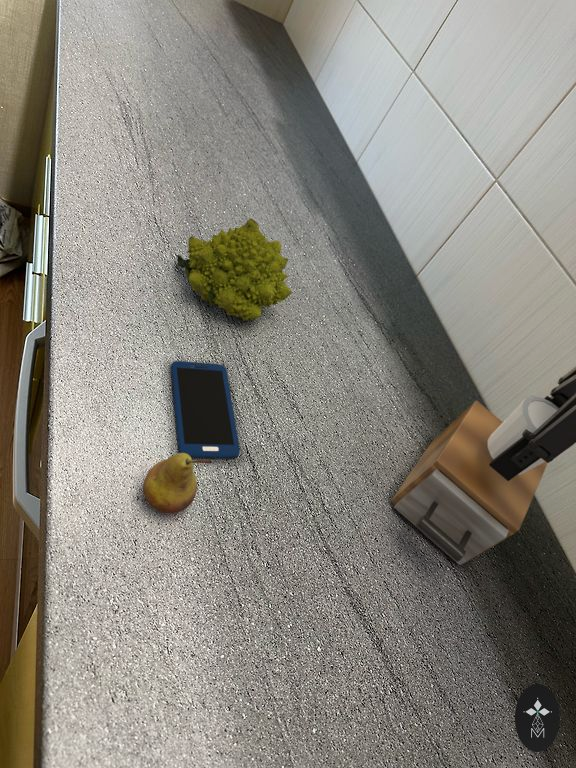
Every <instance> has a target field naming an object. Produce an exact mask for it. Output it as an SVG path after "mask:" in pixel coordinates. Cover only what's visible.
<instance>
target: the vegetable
mask: <svg viewBox="0 0 576 768" xmlns="http://www.w3.org/2000/svg"><path fill="white" fill-rule="evenodd" d="M187 245H188V246H187V247H188V248H187V249H188V250H187V253H188V256H187V259H185V258H183V257H182V256H181V254H176V257H177V259H176V260H177V261H176V262H177V264H176V265H177V266H178V267H180V268H181V269H184V271H185V275H186V277H188V279H187V280H188V283H189V285H190V286H191V290H192V291H195V292H197V293H198V294H199V295H200V298H201V301H205V302H207V303H208V304H209V306H210V307H212V306H214V305H218V308H219V309H221V308H222V309H223V311H226V315H227V316H234V317H236V318H241V319H242V321H243V322H245V321H248V322H250V321H253V320H254V321H255V320H256V319H258V318H259V317H261V316H262V314H261V313H262V311H263V307H264V308H270V307H271V306H272V305H273V306H276V305H277V304H278V302H279V303H282V301H286V299H287V298H288V297H289V296H290V295H291V294H292V293H293V291H292V290H291V289H290V288H289V286H287V284H286V281H284V280H286V279H287V278H288V277H289V275H288V274H286V273H285V272H284V271H283V270H284V269H286V266H287V264H288V262H289V258H286V257H284V256H282V255H281V254H282V253H281V250H282V243H281V242H280V241H279V240H272V241H269V240H268V237H266V235H264V234H263V232H261V231H260V228H259V223H258V222H256V220H254V219H253V218H252V217H250V218H249V219H248V220H247V221H246V222H245V223H244V224H243V225H241V226H240V227H234V229H233V228H229V229H228V231H227V232H225V231H224V230H223V228H221V229H220V231H219V233H218V234H217V235H216V234H212V236H211V239H209V240H208V241H206V240H201V239H199V238H196V237H195V236H193V235H191V236H189V237H188V243H187Z"/></svg>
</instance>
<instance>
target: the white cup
mask: <svg viewBox="0 0 576 768" xmlns="http://www.w3.org/2000/svg"><path fill="white" fill-rule="evenodd" d="M544 398H545V397H541V396H535V395H532V396H529V397H526V398H525V399H523V401H522V402H521V403H520V404H519V405H518V406H517V407H516V408H515V409H514V410H513V411H512V412H511V413H510V414H509V415H508V416H507V417H506V418H505V420H503V421H502V422H503V423H502V424H501V425H500V426H499V427H498V428H497V429H496V430H495V431H494V432H493V433H492V434H491V436H490V437H489V439H488V450H489V452H490V455H491V457H492V458H493V459H495V458H496V457H497V456H498V455H500V454H501V453H502V452H504V451H505V450H506V449H507V448H509V447H510V446H511V445H513V444H514V443H515V442H517V441H518V440H519V439H520V438H522V437H523V436H522V433H523V432H524V431H525V430H526V429H527V430H528V431H530V432H531V433H533V432H535V431H536V430H537V429H538V428H539V427H540V426H541V425H542V424H543V423H544V422H545V421H546V420H548V419H549V418H550V417H551V416H552V415H553V414H554V413H555V412H556V411H557V410H558V409H559V408H558V407H557V406H556V405H554V404H553V403H552V402H550V401H548V400H546V399H544ZM574 445H575V444H573V445H572V446H571V447H569V448H568V449H567V450H569V449H571V448H572V447H574ZM543 462H545V461H544V460H543V459H542V458H540V459H539V460H538V461H536V462H535V463H533V464H532V465H531V466H529V467H528V468H526V469H525V470H523V471H522V472H521V473H519V474H518V475H521V474H523V473H525V472H527V471H529V470H531V469H532V468H534V467H536V466H538V465H540V464H542V463H543Z"/></svg>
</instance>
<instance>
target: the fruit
mask: <svg viewBox="0 0 576 768" xmlns="http://www.w3.org/2000/svg"><path fill="white" fill-rule="evenodd" d="M198 463H199V464H200V463H201V464H213V461H212V459H211V458H207V459H193V458H191V457H190V455H188V454H186V453H179V452H178V453H175V454H172V455H171V456H170V457H168V458H165V459H162V460H160V461H159V462H156V463H155V464H154V465H153V466H152V467H151V468H150V469H149V471H148V472H147V474H146V475H145V478H144V479H143V480H144V481H143V483H142V494H143V496H144V500H145V501H146V503H147V504H148V505H149V506H150V508H152V509H153V510H154V511H157V512H158V513H161V514H165V515H173V514H178V513H180V512H182V511H185V510H186V509H187V508H189V506H191V504H192V503H193V502H194V500H195V498H196V495H197V491H198V481H197V477H196V475H195V472H194V464H198Z"/></svg>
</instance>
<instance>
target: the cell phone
mask: <svg viewBox="0 0 576 768" xmlns="http://www.w3.org/2000/svg"><path fill="white" fill-rule="evenodd" d="M170 375H171V376H170V377H171V387H172V388H171V389H172V397H173V406H174V407H173V409H174V418H175V426H176V427H175V428H176V437H177V446H178V453H186V454H188V455H190V457H191V458H192V459H236V458H238V457H239V456H240V454H241V453H240V442H239V437H238V430H237V425H236V419H235V413H234V406H233V402H232V394H231V389H230V382H229V377H228V372H227V368H226V366H224V365H222V364H219V363H207V362H194V361H183V360H182V361H181V360H176V361H175V360H174V361H173V362H171V365H170Z"/></svg>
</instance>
